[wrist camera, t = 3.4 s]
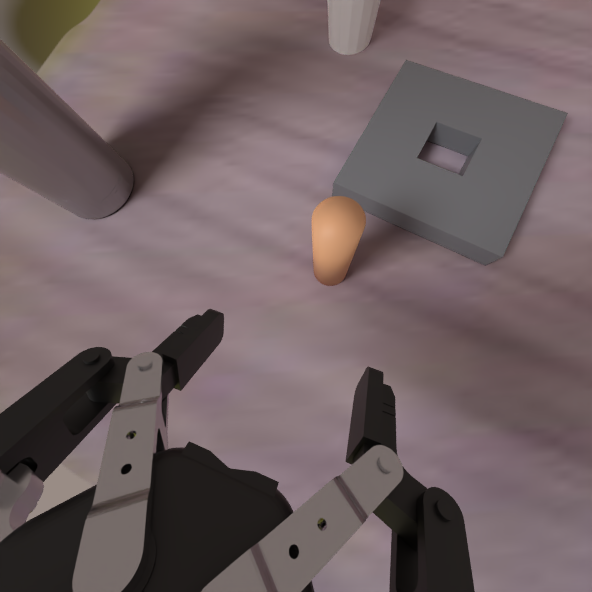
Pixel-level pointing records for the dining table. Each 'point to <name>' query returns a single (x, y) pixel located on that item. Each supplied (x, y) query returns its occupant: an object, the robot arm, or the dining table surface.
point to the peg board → (443, 183)
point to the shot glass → (351, 24)
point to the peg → (335, 237)
